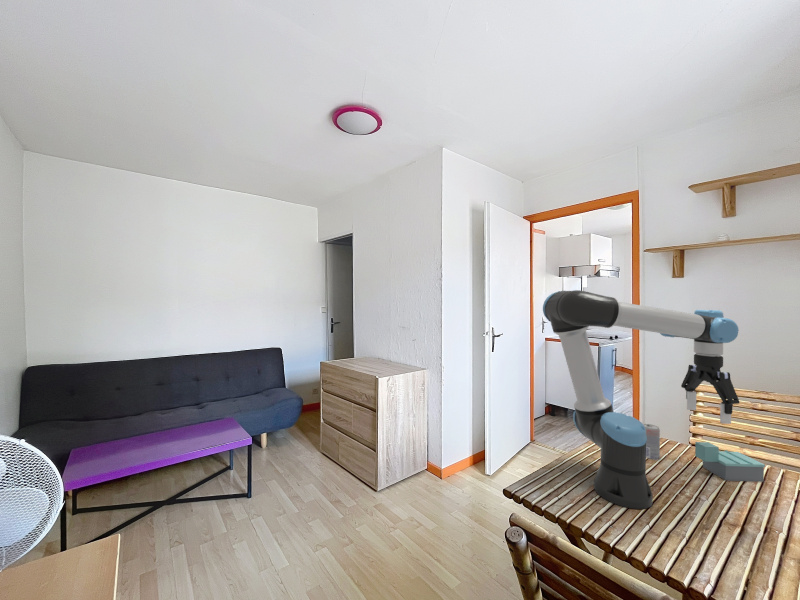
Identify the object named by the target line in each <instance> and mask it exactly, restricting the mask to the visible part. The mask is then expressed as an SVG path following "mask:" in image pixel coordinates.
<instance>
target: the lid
mask: <svg viewBox="0 0 800 600" xmlns="http://www.w3.org/2000/svg"><path fill="white" fill-rule="evenodd" d="M694 444H695V445H694V447H695V453H694V454H695V457H696V458H697V459H700V460H701V461H702V462H703V461H705V462H719V463H721V464H723V465H725V466H745V467H764V468H766V465H765V463H762V462H760V461H758V460H756V459H754V458H751V457H750V456H747V455H745V454H743V453H742V452H739V451H729V450H727V449H726V450H724V451H722V450H721V451H720V449H719V446H718V445H715V444H712V443H711V442H706V441H695V443H694Z"/></svg>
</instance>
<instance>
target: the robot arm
mask: <svg viewBox="0 0 800 600" xmlns="http://www.w3.org/2000/svg"><path fill="white" fill-rule="evenodd" d="M542 313H543V316H544V317H545V318H546V320H547V321H548V322H550V325H551V328H552V331H553V333H554V334H555V335H557V336H558V337H559V339H560V342H561V346H562V351H563V355H564V357H565V362H566V366H567V368H568V372H569V375H570V379H571V384H572V386H573V389H574V390H573V391H574V393H575V397H576V401H575V402H574V404H573V407H574V412H573V414H572V420H573V423H574V426H575V428H576V429H577V431H579V432H580V433H581V435H582V436H584V437H585V438H587V439H588V440H590V441H591V442H592V443H594V444H595V445H596V446H597V447H599V448H600V464H599V467H598V469H597V471H596V475H595V477H594V479H593V489H594V491H595V492H596V493H597V494H598V495H599V496H600V497H602V498H603V499H604V500H606V501H608V502H610V503H612V504H614V505H618V506H621V507H623V508H629V509H634V510H635V509H636V510H642V509H648V508H651V507H652V505H653V501H654V499H653V497H654V496H653V492H652V489H651V487H650V484H649V481H648V477H647V475H646V474H647V473H646V468H647V466H646V462H647V461H646V460H647V458H646V441H647V437H646V430H645V427H644V423H643V422H642V421H640V420H639V419H637V418H636V417H634V416H631V415H626V414H625V413H622V412H614V408H613V405H612V401H611V400H610V399H608V398H607V397H605V394H604V391H603V387H602V384H601V381H600V377H599V373H598V370H597V366H596V362H595V359H594V355H593V351H592V348H591V345H590V342H589V337H588V334H587V330H588V328H589V327H596V328H597V327H599V328H605V329H606V328H607V329H611V328H612V327H621V328H628V329H632V330H638V331H645V332H650V333H656V334H657V333H658V334H660V335H661V336H663V337H666V338H667V337H668V338H669V337H670V338H682V339H683V338H684V339H690V340H691V339H692V340H693V352H694V354H693V364H688V367H687V368H688V369H687V371H686V375H685V376H684V379H683V381H682V383H681V388H683V389H684V391H685V399H686V410H688V411H697V391H696V389H698V387H699V386H700V385H701V384H702V383H703V382H706V383H709V384H710V385H712V386H713V388H714V390H715V391H716V393H717V395H718V397H719V398H720V400H721V402H719V403H720V404H719V407H720V410H719V412H720V413H719V414H720V415H719V419H720V420H719V421H720V422H719V423H720V424H726V425H727V424H728V425H729V424H730V425H731V424H732V415H733V405H735V404H736V405H737V404H740V400H739V397H738V395H737V392H736V389H735V387H734V385H733V382H732V380H731V373H730V372H727V371H725V372H723V371H722V370H721V369H722V368H723V367H724V356H722V355H724V344H728V343H731V342H734V341H735V340H736V339H737V338H738V336H739V331H740V330H739V326H738V324H737V322H735V321H734V320H733V319H731V318H726V317H724V312H723V311H721V310H720V309H696V310H694V313H690V312H683V311H677V310H671V309H664V308H658V307H653V306H647V305H640V304H634V303H628V302H622V301H618V299H617V298H615V297H613V296H612V297H611V296H606V295H602V294H598V293H593V292H589V291H584V290H577V289H575V290H560V291H559V290H558V291H556V292H552V293H551V294H549V295H548V296H547V297H546V298H545V300H544V302H543V305H542Z"/></svg>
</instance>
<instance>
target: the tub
mask: <svg viewBox="0 0 800 600" xmlns="http://www.w3.org/2000/svg"><path fill="white" fill-rule="evenodd" d="M702 468H704V469H705V470H707V471H709V472H710V473H712V474H714V475H715V476H717V477H719V478H721V479H722V480H724V481H731V482H737V481H738V482H754V483H755V482H756V483H757V482H759V483H760V482H761V483H764V481H765V480H764V478H765V477H764V475H765V472H764V471H765V467H745V466H725V465H723V464H721V463H719V462H705V461H703V460H702Z"/></svg>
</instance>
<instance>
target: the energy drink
mask: <svg viewBox="0 0 800 600" xmlns="http://www.w3.org/2000/svg"><path fill="white" fill-rule="evenodd" d="M643 425H644V427H645V430H646V437H647V441H646V459H649V460H660V457H661V456H660V453H661V452H660V450H661V449H660V446H661V441H660V438H661V430H660V427H659V426H657V425H654V424H649V423H643Z"/></svg>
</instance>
